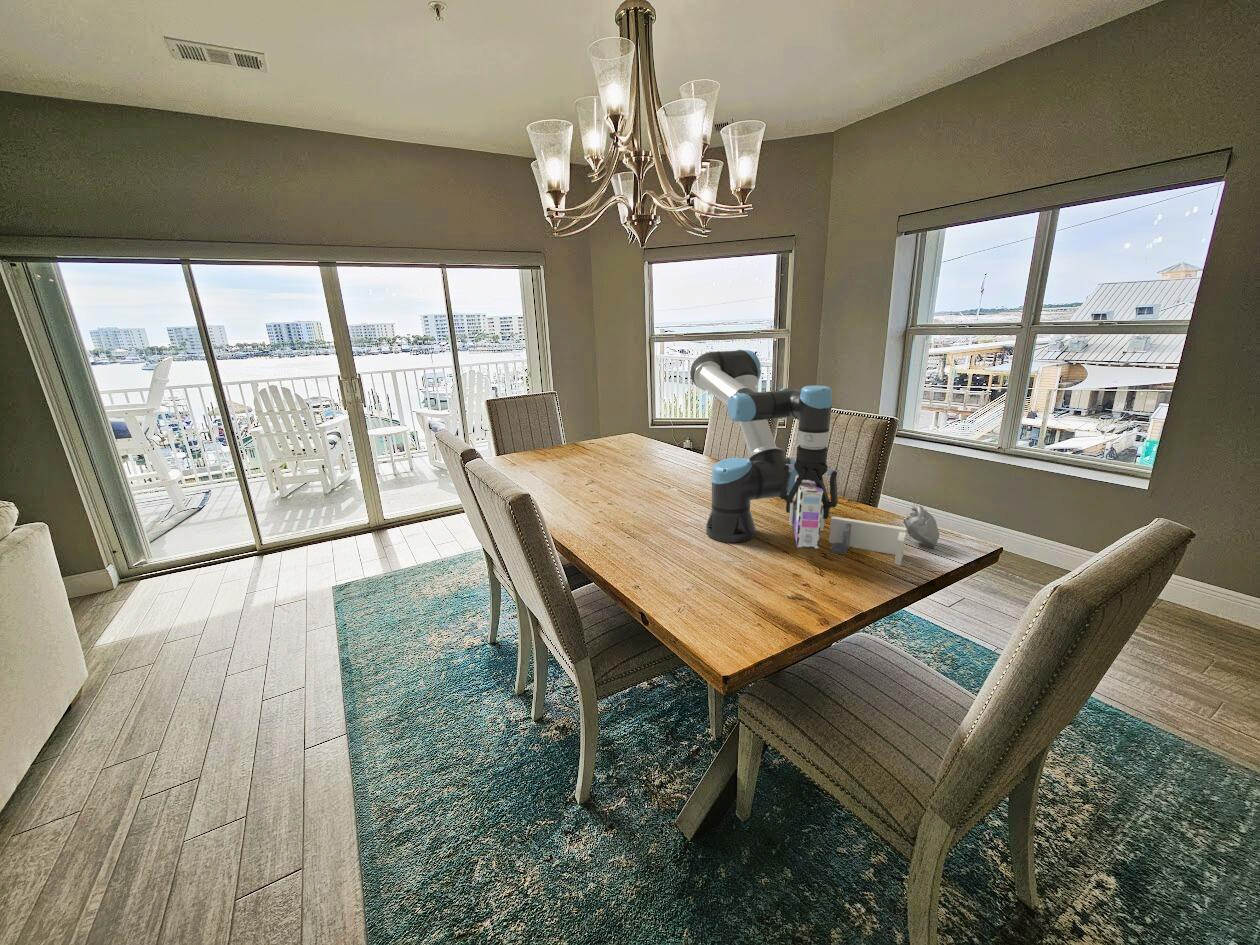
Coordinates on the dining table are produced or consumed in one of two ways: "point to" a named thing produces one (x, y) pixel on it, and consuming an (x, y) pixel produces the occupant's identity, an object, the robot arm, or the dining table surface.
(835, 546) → the bookend
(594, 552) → the dining table surface
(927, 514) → the heart
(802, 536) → the candy box
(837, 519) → the shelf
